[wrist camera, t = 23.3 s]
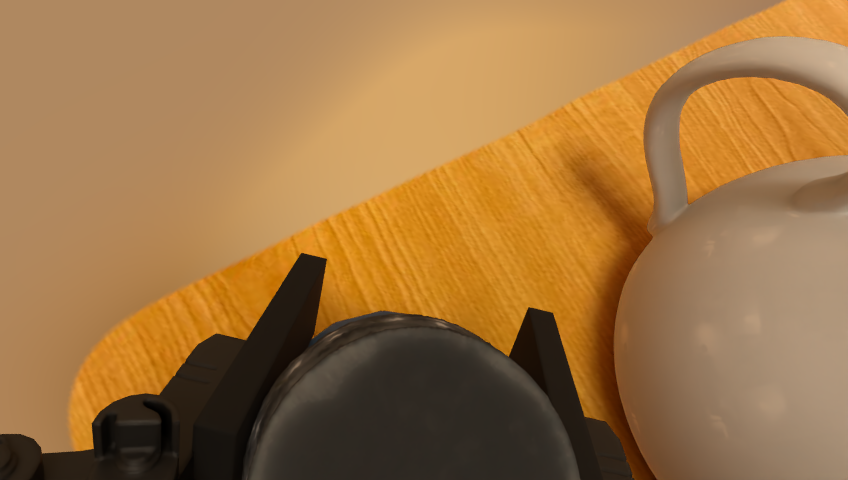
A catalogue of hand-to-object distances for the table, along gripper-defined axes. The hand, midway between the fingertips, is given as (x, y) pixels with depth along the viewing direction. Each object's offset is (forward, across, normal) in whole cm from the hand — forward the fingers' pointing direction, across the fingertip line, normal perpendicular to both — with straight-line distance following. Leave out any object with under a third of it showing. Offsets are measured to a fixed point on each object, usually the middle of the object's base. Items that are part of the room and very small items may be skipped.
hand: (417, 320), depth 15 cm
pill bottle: (0, 0, -5) cm, 5 cm away
